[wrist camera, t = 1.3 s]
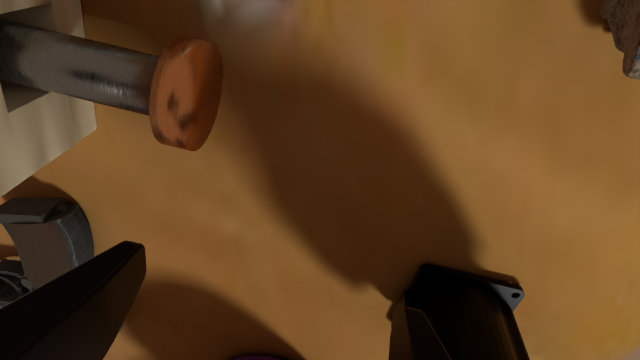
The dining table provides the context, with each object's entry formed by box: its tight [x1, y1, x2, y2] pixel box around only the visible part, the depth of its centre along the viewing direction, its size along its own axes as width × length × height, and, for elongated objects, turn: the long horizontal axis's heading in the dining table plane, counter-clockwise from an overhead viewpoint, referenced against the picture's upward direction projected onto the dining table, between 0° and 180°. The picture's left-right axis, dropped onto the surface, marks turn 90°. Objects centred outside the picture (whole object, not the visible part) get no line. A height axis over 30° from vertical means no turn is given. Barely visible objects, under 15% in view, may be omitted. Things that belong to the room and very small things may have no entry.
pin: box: [0, 18, 223, 151], centre depth 16 cm, size 12×4×4 cm, turn 78°
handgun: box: [0, 198, 123, 331], centre depth 28 cm, size 3×18×12 cm
